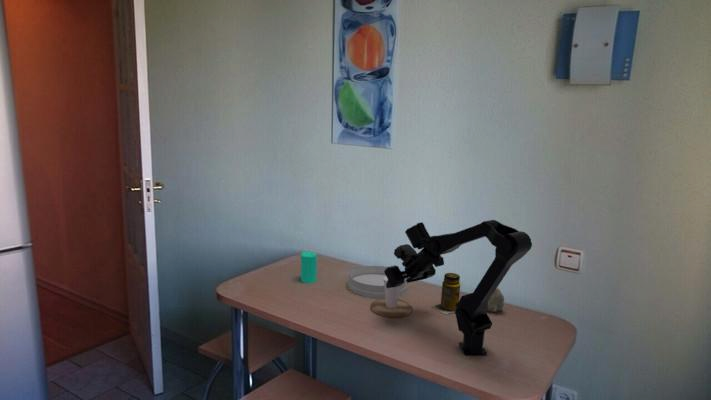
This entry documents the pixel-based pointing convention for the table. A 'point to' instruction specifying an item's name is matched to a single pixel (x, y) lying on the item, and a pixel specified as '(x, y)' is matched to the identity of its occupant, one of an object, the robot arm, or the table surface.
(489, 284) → the robot arm
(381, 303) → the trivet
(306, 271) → the candle
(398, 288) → the smoothie
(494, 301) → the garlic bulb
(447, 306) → the condiment
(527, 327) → the table surface
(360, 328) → the table surface
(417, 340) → the table surface
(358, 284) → the dish
